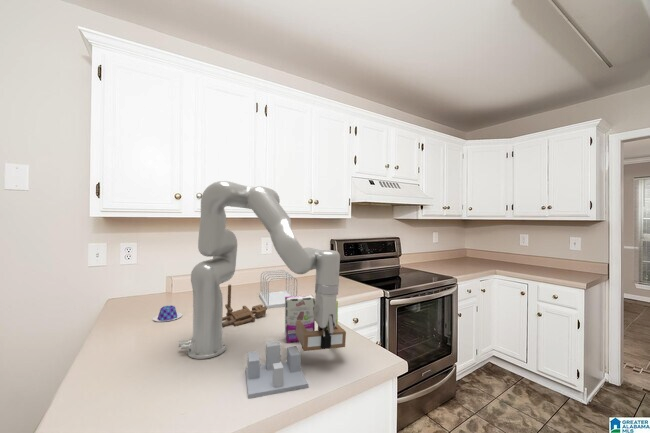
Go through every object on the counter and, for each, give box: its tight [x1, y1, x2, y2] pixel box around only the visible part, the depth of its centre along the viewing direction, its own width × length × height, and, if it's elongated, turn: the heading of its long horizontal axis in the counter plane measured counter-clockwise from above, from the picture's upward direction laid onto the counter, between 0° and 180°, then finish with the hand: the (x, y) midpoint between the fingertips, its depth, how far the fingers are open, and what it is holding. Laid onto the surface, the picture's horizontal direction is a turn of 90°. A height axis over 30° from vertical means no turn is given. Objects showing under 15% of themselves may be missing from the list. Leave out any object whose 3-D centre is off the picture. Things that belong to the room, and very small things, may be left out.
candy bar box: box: [284, 294, 316, 344], centre depth 110 cm, size 11×5×16 cm, turn 105°
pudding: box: [152, 305, 183, 322], centre depth 132 cm, size 12×12×5 cm
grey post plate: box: [245, 340, 309, 399], centre depth 82 cm, size 16×14×8 cm
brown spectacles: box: [296, 320, 347, 352], centre depth 96 cm, size 14×13×5 cm
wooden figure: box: [222, 284, 268, 332], centre depth 127 cm, size 14×18×25 cm
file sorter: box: [258, 269, 298, 309], centre depth 162 cm, size 25×17×16 cm
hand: (323, 345), depth 91 cm, fingers closed on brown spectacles, 2 cm apart
